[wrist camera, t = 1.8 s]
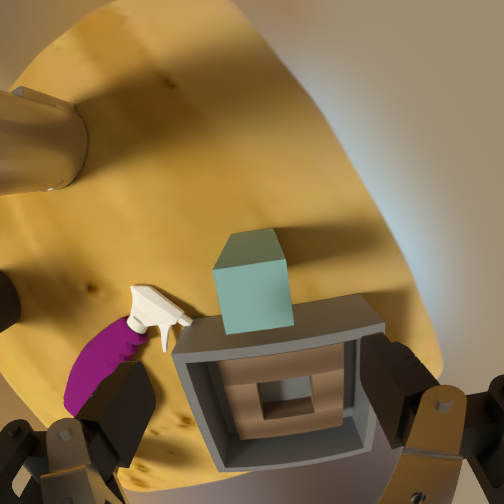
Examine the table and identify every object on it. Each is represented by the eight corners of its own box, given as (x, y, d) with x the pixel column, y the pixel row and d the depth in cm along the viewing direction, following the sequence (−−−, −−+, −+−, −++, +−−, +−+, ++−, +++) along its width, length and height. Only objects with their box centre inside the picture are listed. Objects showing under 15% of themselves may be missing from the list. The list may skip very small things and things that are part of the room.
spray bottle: (67, 392, 33) (131, 262, 30) (122, 441, 32) (209, 324, 30) (55, 400, 30) (118, 264, 27) (113, 452, 29) (201, 333, 27)
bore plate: (220, 345, 29) (217, 361, 26) (335, 328, 28) (343, 342, 25) (241, 422, 32) (240, 439, 29) (337, 408, 31) (342, 424, 28)
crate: (188, 318, 29) (171, 353, 23) (359, 293, 29) (385, 322, 22) (223, 433, 33) (218, 472, 26) (356, 413, 32) (370, 450, 26)
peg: (230, 234, 27) (212, 270, 16) (273, 227, 27) (285, 259, 16) (237, 274, 28) (226, 334, 17) (278, 268, 28) (294, 325, 16)
